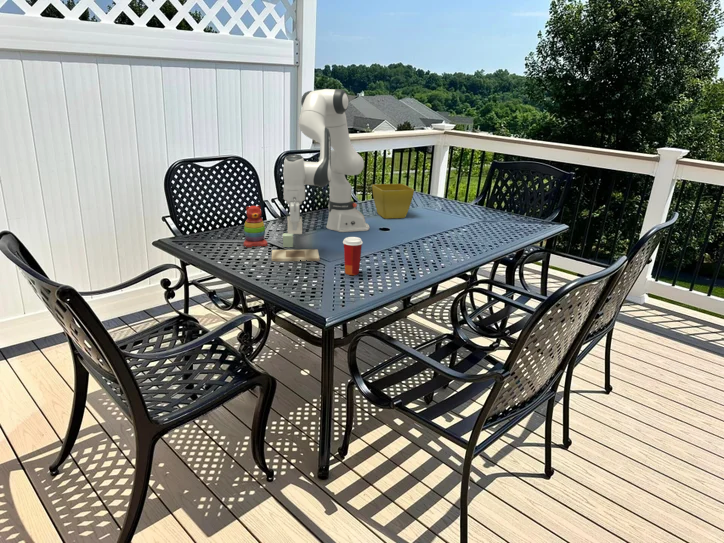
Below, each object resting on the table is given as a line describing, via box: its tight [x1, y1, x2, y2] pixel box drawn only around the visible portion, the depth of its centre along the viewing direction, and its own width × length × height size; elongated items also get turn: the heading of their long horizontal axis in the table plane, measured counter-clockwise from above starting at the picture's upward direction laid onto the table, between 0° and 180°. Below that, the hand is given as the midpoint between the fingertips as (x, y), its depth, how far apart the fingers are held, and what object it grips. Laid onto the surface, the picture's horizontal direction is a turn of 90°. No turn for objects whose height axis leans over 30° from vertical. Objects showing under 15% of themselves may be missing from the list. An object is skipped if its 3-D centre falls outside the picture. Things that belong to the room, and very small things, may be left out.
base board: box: [271, 248, 320, 262], centre depth 221 cm, size 20×12×1 cm, turn 98°
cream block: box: [287, 215, 303, 235], centre depth 216 cm, size 6×6×6 cm
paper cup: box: [342, 236, 364, 276], centre depth 202 cm, size 8×8×14 cm
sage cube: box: [282, 232, 294, 248], centre depth 234 cm, size 4×4×6 cm
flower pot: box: [371, 183, 415, 220], centre depth 291 cm, size 19×19×17 cm
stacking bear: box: [242, 205, 269, 248], centre depth 233 cm, size 11×10×18 cm
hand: (294, 227), depth 216 cm, fingers closed on cream block, 6 cm apart
